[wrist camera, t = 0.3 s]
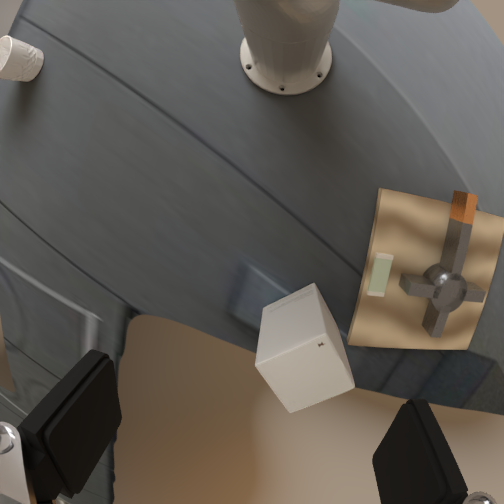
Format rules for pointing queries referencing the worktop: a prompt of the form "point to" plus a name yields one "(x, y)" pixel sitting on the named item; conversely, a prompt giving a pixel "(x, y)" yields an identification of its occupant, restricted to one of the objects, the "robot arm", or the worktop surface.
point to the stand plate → (420, 273)
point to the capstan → (447, 270)
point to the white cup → (19, 60)
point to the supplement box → (302, 350)
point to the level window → (379, 274)
